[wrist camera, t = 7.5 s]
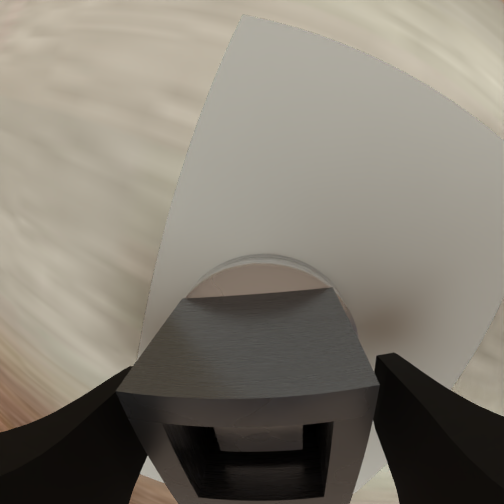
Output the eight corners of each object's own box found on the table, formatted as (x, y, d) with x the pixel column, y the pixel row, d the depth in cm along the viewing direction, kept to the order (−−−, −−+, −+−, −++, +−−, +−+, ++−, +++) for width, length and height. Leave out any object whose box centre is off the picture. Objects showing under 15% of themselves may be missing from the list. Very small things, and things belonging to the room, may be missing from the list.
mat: (534, 175, 9) (541, 176, 9) (327, 509, 16) (328, 513, 15) (243, 20, 9) (242, 14, 9) (128, 463, 16) (125, 467, 15)
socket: (332, 287, 9) (379, 384, 4) (330, 400, 10) (349, 503, 6) (182, 298, 10) (115, 391, 5) (207, 406, 11) (179, 504, 6)
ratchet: (350, 245, 10) (403, 295, 6) (330, 496, 15) (335, 549, 10) (164, 261, 11) (99, 315, 6) (231, 500, 15) (223, 553, 11)
